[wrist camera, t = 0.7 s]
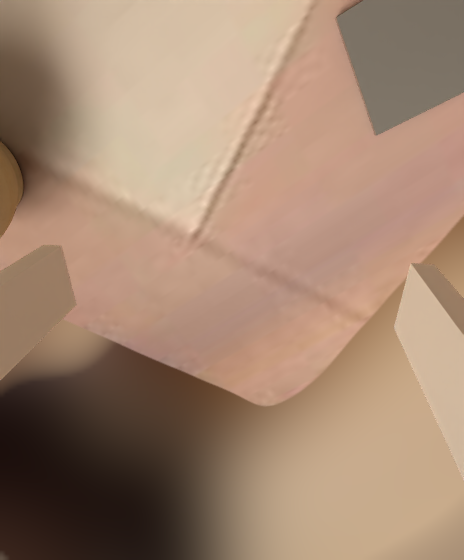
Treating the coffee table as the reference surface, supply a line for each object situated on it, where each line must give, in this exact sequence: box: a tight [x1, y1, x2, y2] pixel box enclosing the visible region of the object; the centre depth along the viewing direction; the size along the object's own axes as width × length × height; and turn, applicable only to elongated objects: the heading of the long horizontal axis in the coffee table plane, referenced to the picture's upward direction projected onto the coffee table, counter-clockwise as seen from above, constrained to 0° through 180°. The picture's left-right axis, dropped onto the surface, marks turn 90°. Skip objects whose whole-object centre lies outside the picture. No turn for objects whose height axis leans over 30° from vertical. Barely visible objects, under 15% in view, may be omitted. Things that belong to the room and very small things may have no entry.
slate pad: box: [336, 0, 464, 135], centre depth 28 cm, size 10×10×1 cm
